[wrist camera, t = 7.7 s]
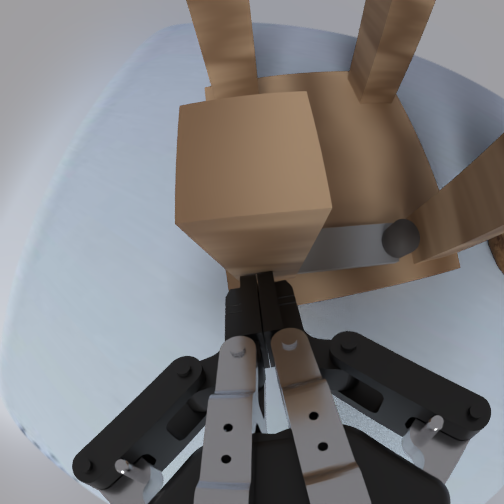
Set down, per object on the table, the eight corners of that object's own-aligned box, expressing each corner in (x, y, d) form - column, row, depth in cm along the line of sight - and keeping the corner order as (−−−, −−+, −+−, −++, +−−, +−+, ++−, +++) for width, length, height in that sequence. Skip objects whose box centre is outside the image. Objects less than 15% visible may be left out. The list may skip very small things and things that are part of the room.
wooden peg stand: (378, 85, 22) (417, -33, 8) (446, 271, 18) (591, 217, 4) (209, 102, 23) (165, -33, 9) (236, 315, 19) (142, 318, 5)
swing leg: (400, 221, 17) (514, 117, 5) (408, 266, 16) (548, 201, 5) (239, 235, 18) (179, 105, 6) (242, 284, 17) (174, 223, 5)
